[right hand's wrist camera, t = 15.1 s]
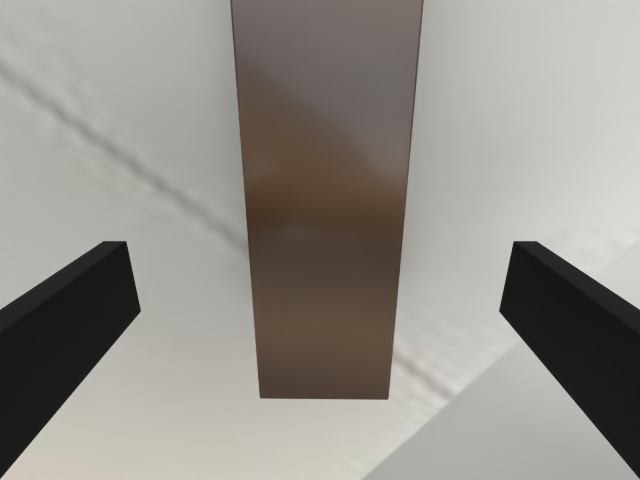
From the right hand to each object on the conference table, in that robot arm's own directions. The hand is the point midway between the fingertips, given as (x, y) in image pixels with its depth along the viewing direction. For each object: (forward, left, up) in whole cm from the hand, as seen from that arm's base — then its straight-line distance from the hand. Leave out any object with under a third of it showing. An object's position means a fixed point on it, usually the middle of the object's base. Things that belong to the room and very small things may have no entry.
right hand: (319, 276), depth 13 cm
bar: (+3, +24, -6) cm, 25 cm away
